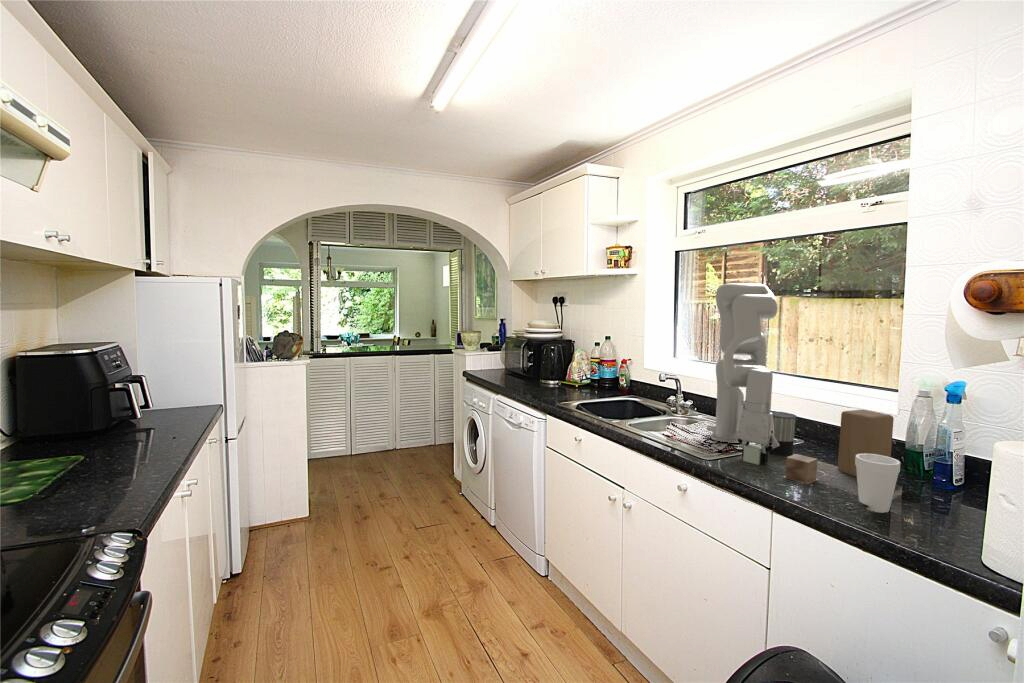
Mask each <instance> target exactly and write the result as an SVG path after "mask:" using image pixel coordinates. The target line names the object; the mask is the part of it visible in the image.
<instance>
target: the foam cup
mask: <svg viewBox="0 0 1024 683" xmlns="http://www.w3.org/2000/svg"><path fill="white" fill-rule="evenodd" d="M901 464H902V463H901V461H900V460H899V459H896V458H893V457H892V456H891V457H887V456H882V455H877V454H857V455H856V459H855V465H856V469H857V476H856V482H857V492H858V501H859V502H860V503H861V504H862V505H865V506H867V507H865V508H864V510H866V509H867V511H869V510H870V512H873V511H874V513H881V514H883V513H885V512H886V513H888V512H889V511H890V508H891V504H892V501H893V497H894V492H895V489H896V486H897V482H898V477H899V473H900V472H901Z"/></svg>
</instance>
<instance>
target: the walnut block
mask: <svg viewBox="0 0 1024 683" xmlns="http://www.w3.org/2000/svg"><path fill="white" fill-rule="evenodd" d="M785 465H786V466H785V476H786V477H787V478H786V479H788V478H791V479H794V480H793V481H795V480H798V481H797V482H799V481H802V482H805V483H804V484H806V483H808V482H810V481H812V480H815V479H816V478H817V469H818V458H815V457H810V456H805V455H803V454H799V453H798V454H797V453H795V454H793V455H792V456H786V463H785ZM791 479H790V480H791ZM802 482H801V483H802Z"/></svg>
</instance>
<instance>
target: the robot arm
mask: <svg viewBox="0 0 1024 683" xmlns="http://www.w3.org/2000/svg"><path fill="white" fill-rule="evenodd" d="M715 293H716V294H715V302H716V303H715V304H716V307H717V310H718V314H719V318H720V328H719V329H720V335H719V336H720V337H719V338H720V339H719V340H720V344H719V345H720V350H721V353H723V358H721V359H720V360H718V361H717V362H716V364H715V375H716V376H715V377H716V389H717V390H716V408H715V409H716V410H715V425H712V424H708V425H707V427H706V431H709V432H712V433H711V434H710V439H711V440H713V441H715V442H718V441H720V442H719V443H722V442H728V443H727V444H729V443H740V444H739V445H740V447H741V449H742V450H741V451H742V452H741V453H742V454H741V456H742V458H743V454H744V446H745V445H748V444H751V443H752V444H756V443H757V444H756V445H760V446H761V449H762V453H761V454H760V464H759V465H765V464H767V463H768V461H769V459H768V458H769V453H768V452H770V451H771V450H773V449H774V448H776V447H778V446H779V443H778V441H777V440H776V438H775V437H774V420H773V414H772V413H770V412H771V410H772V408H771V407H772V395H773V394H772V393H773V379H774V378H773V375H774V374H773V371H771V370H769V369H768V368H767V339H766V337H765V334H764V333H763V332H762V327H761V319H762V320H763V319H766V320H767V319H768V320H769V319H773V318H775V316H776V315H777V313H778V309H779V308H778V302H777V298H776V296H775V295H774V293H773V292H772V290H770V289H769V287H768V286H767V285H766V284H763V283H743V282H741V283H739V282H732V283H724V284H721V285H719V286H718V287H717V290H716V292H715ZM734 355H735V356H749V357H750V358H738V357H735V358H734ZM740 388H745V396H744V392H743V391H742V390H741V389H740ZM769 443H772V445H770V446H769Z"/></svg>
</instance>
